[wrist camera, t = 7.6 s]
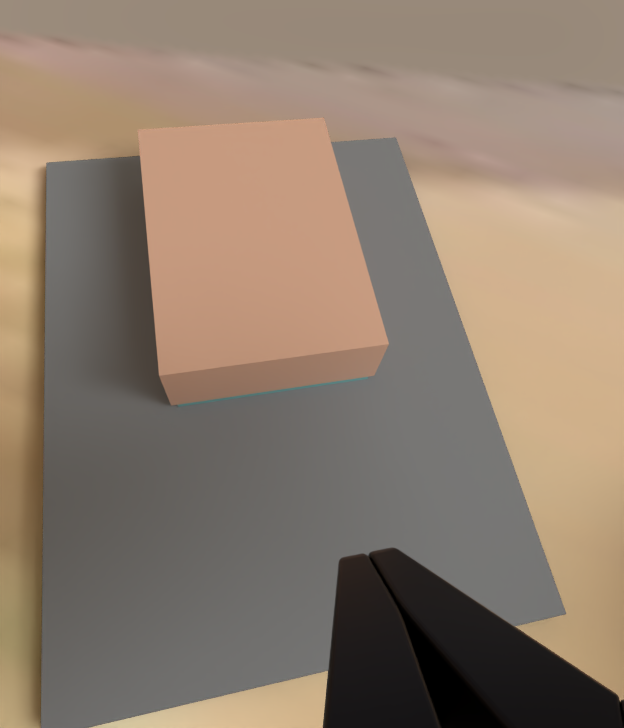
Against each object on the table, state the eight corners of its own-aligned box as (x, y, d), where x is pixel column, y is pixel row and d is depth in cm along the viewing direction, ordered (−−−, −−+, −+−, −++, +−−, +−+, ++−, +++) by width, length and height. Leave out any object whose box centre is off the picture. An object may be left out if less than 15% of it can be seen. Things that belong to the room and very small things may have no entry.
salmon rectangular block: (389, 344, 17) (323, 117, 21) (159, 375, 16) (137, 129, 20) (372, 377, 19) (317, 168, 23) (172, 407, 18) (150, 181, 22)
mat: (556, 614, 17) (566, 614, 16) (48, 734, 14) (41, 738, 14) (392, 147, 25) (395, 137, 24) (51, 173, 22) (46, 162, 22)
